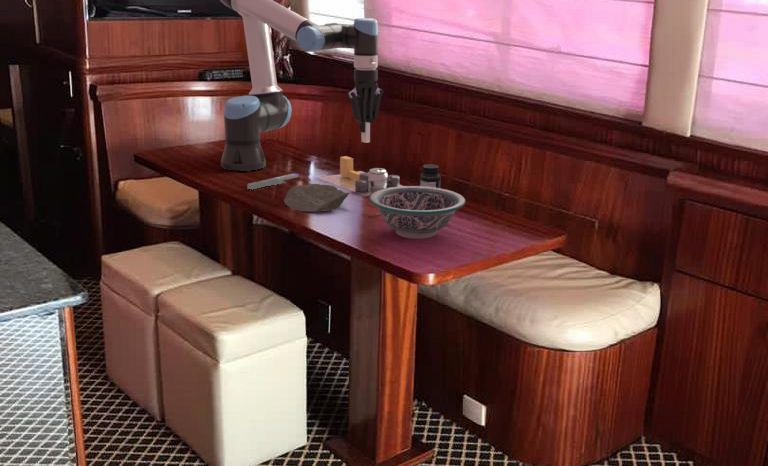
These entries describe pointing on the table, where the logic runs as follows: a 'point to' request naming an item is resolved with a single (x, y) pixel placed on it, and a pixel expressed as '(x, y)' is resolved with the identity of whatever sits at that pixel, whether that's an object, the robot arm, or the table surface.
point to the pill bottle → (430, 176)
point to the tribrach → (375, 181)
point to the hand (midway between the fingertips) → (365, 141)
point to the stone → (315, 197)
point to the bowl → (417, 209)
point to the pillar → (271, 181)
